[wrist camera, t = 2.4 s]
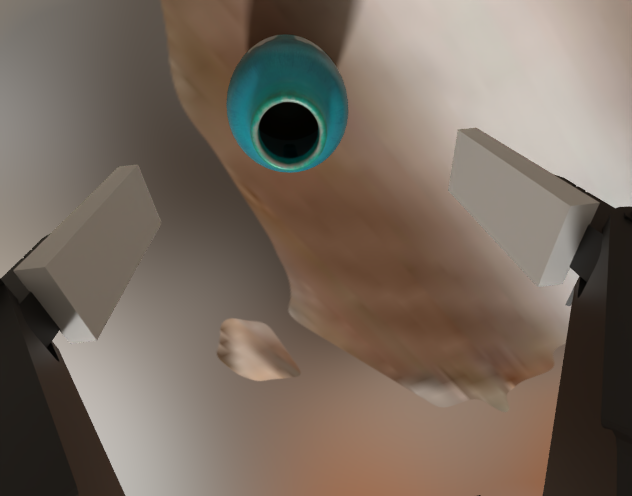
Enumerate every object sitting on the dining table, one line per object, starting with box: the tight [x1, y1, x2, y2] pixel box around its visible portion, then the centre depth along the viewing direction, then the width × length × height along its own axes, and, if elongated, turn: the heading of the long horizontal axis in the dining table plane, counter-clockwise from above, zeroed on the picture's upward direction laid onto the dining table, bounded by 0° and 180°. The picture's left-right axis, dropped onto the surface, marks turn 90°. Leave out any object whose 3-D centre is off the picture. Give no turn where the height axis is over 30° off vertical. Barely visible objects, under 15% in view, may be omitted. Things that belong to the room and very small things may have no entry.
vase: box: [227, 34, 348, 173], centre depth 31 cm, size 11×11×19 cm
